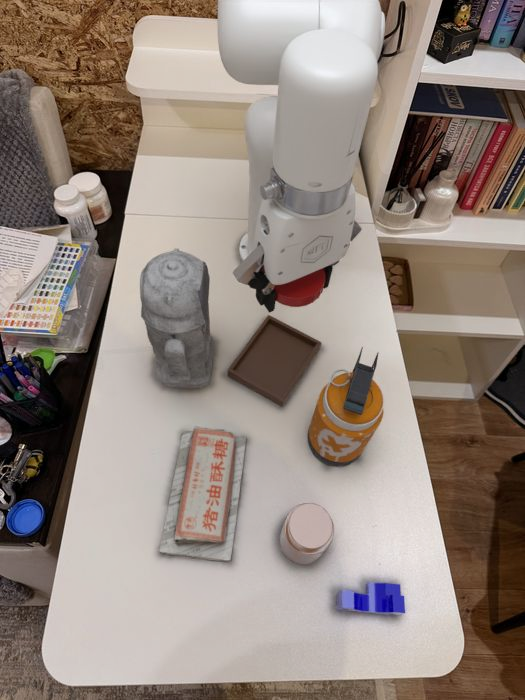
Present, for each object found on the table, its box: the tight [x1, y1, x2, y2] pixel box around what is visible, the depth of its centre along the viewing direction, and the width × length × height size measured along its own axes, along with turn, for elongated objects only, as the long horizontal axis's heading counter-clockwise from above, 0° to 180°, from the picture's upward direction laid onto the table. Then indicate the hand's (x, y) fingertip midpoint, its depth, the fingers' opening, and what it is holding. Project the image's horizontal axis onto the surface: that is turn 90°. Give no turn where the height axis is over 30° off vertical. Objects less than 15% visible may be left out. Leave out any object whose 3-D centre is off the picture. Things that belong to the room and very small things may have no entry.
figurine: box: [139, 247, 215, 389], centre depth 76 cm, size 10×14×25 cm
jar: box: [279, 502, 335, 565], centre depth 68 cm, size 6×6×10 cm
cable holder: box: [336, 582, 406, 616], centre depth 67 cm, size 8×4×4 cm, turn 85°
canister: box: [307, 346, 385, 467], centre depth 72 cm, size 9×11×20 cm
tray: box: [227, 314, 322, 407], centre depth 86 cm, size 13×11×2 cm
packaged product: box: [158, 425, 247, 562], centre depth 73 cm, size 18×5×10 cm
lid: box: [265, 268, 325, 308], centre depth 61 cm, size 7×7×2 cm
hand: (292, 290), depth 63 cm, fingers closed on lid, 7 cm apart
